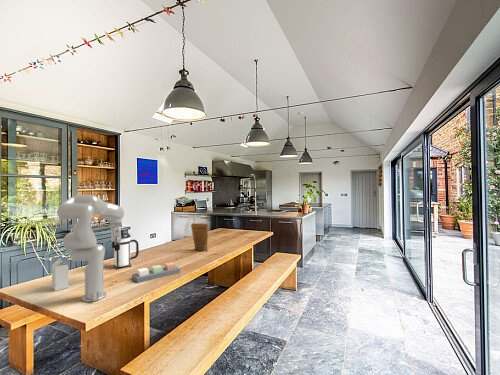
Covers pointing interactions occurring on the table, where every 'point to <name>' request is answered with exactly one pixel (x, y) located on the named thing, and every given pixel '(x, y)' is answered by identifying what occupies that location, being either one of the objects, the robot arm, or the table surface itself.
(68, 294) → the table surface
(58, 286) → the milk carton
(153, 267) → the sage key
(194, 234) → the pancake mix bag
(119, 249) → the robot arm
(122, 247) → the coffee press
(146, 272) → the cream key
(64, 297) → the table surface
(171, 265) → the terracotta key
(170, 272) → the key console
